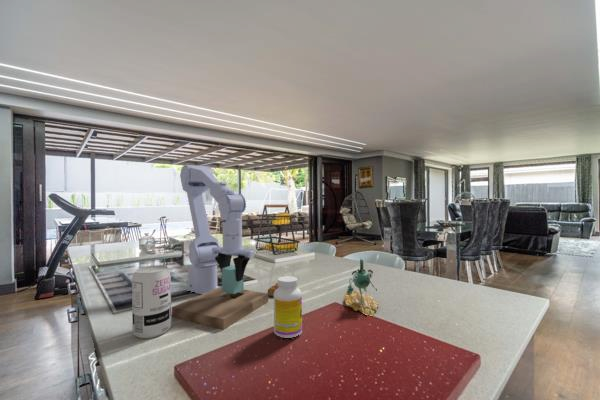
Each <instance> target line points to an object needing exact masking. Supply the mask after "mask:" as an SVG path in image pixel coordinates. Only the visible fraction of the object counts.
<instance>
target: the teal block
mask: <svg viewBox="0 0 600 400" xmlns="http://www.w3.org/2000/svg"><path fill="white" fill-rule="evenodd" d="M244 280H245V279H244V278H243V280H241V281H237V280H236V269H235V265H232V264H230V266H228V267H225V268H222V272H221V286H222V292H225V293H230V294H236V293H238V292H240V291H242V290H245V289H244V287H245V286H244V282H245V281H244Z"/></svg>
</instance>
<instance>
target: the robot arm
mask: <svg viewBox="0 0 600 400" xmlns="http://www.w3.org/2000/svg"><path fill="white" fill-rule="evenodd" d="M179 176H180V183H181V187H182V190H183V191H184V192H185V193H186V195H187V199H188V200H187V201H188V205H189V210H190V215H191V220H192V225H193V232H194V237H195V238H194V239H193V240H192V241H191V242H190V243H189V245H188V250H189V253H188V258H189V262H190V263H191V265H190V266H189V269H188V272H187V280H188V281H187V282H188V283H187V289H186V290H185V291H186V292H187V291H189V290H190V291H191V292H190V293H192V292H195V293H194V294H198V295H202V294H204V293H207V292H209V291H211V290H214V289H216V288H219V287H221V286H219V285H218V267H219V269H220V272H221V273H222V268H225V267H228V266H231V261H233V264H234V266H235V269H236V280H237V281H241V280H243V279H244V275H245V271H246V269H247V265H248V263H249V261H250V260H251V259H252V258H255V250H252V249H248V248H244V247H243V213H244V211H245V210H246V207H247V206H246V205H247V203H246V202H247V201H246V199H245V197H244V196H243V194H241V193H235V192H234V191H233V190H232V189H231V187H229V186H228V185H227V183H226V182H225V181H218V179H217V178H216V177H215V175H214V169H213V168H212V167H211V166H209V165H207V166H206V165H193V164H183V166H182V167H181V169H180V174H179ZM208 189H209V194H210V195H211V197H212V198H213V199H214V201H216V203H218V205H217V206H218V211H219V214H220V219H221V220H222V221H221V222H222V226H221V227H222V246H221V245H220V242H219V239H218V238H216V237H215V236H213V235H212V234H211V230H210V226H209V222H208V221H209V220H208V216H207V215H208V214H207V210H206V207H205V203H204V197H203V193H204V192H206V191H208ZM232 256H233V257H232ZM235 256H236V257H235Z"/></svg>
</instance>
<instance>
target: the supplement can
mask: <svg viewBox="0 0 600 400" xmlns="http://www.w3.org/2000/svg"><path fill="white" fill-rule="evenodd" d="M171 279H172V278H171V272H170V270H169V269H168V266H166V265H150V266H143V267H139V268H137V269H135V270H134V273H133V274H132V277H131V298H132V299H131V307H132V309H131V310H132V311H131V312H132V334H133V335H134V336H135V337H137V338H139V339H153V338H156V337H159V336H162V335H164V334H165V333H167V332H168V331H169V329H171V327H172V282H171V281H172V280H171Z"/></svg>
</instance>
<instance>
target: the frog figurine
mask: <svg viewBox="0 0 600 400" xmlns="http://www.w3.org/2000/svg"><path fill="white" fill-rule="evenodd" d="M373 274H374V272H373V270H371V269H368V270H367V271H366V269H365V268H364V259H363V258H360V259H359V269H358V268H357V270H354V271H353V272H352V273H351V276H353V277H352V278H353V279H352V278H350V281H349V284H348V286H347V290H346V293H345V294H344V297H343V298H344V302H345V304H346V305H347V307H350V309H351V308H352V310H353V311H356V312H358V311H359V312H361V314H362V313H363V314H365V315H370V316H372V317H374V314H375V313H376V312H377V310H378V307H379V304H380V303H377V302H376V301H375V300H374V298H373V297H372V296H370V295H366V294H364V292H365V293H367V288H368V287H369V285H370V284H371V286H372V288H374V289H375V291H376V292H377V291H378V288H376V287H375V285H374V284H373V282H372V281H371V279H372V278H373ZM352 283H353V285H354V286H355V287H356V288H358V290H354V289H355V288H354V286H352ZM362 289H363V292H362ZM363 314H362V315H363ZM370 316H369V317H370Z"/></svg>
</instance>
